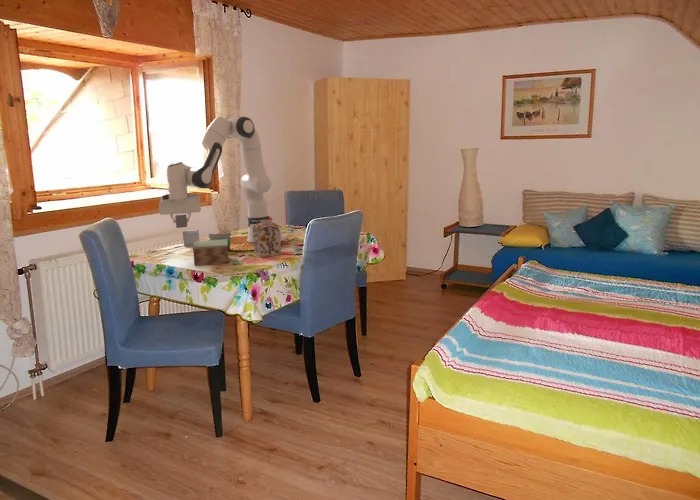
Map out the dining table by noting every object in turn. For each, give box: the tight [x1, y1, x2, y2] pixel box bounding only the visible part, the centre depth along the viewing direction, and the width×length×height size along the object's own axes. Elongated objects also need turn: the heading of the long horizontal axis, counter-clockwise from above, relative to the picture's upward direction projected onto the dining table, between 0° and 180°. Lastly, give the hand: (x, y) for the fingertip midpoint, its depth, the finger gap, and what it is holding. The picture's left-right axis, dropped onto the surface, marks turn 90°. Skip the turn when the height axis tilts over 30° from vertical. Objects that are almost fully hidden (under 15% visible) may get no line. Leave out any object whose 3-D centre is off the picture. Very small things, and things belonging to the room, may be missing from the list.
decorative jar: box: [252, 220, 282, 258], centre depth 280 cm, size 12×12×18 cm
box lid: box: [191, 239, 228, 250], centre depth 268 cm, size 16×12×1 cm
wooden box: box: [192, 247, 229, 267], centre depth 269 cm, size 16×12×8 cm
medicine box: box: [182, 229, 201, 247], centre depth 308 cm, size 8×4×9 cm, turn 84°
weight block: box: [174, 213, 188, 229], centre depth 276 cm, size 5×5×6 cm
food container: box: [208, 231, 232, 252], centre depth 291 cm, size 12×6×10 cm, turn 117°
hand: (181, 222), depth 276 cm, fingers closed on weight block, 5 cm apart
